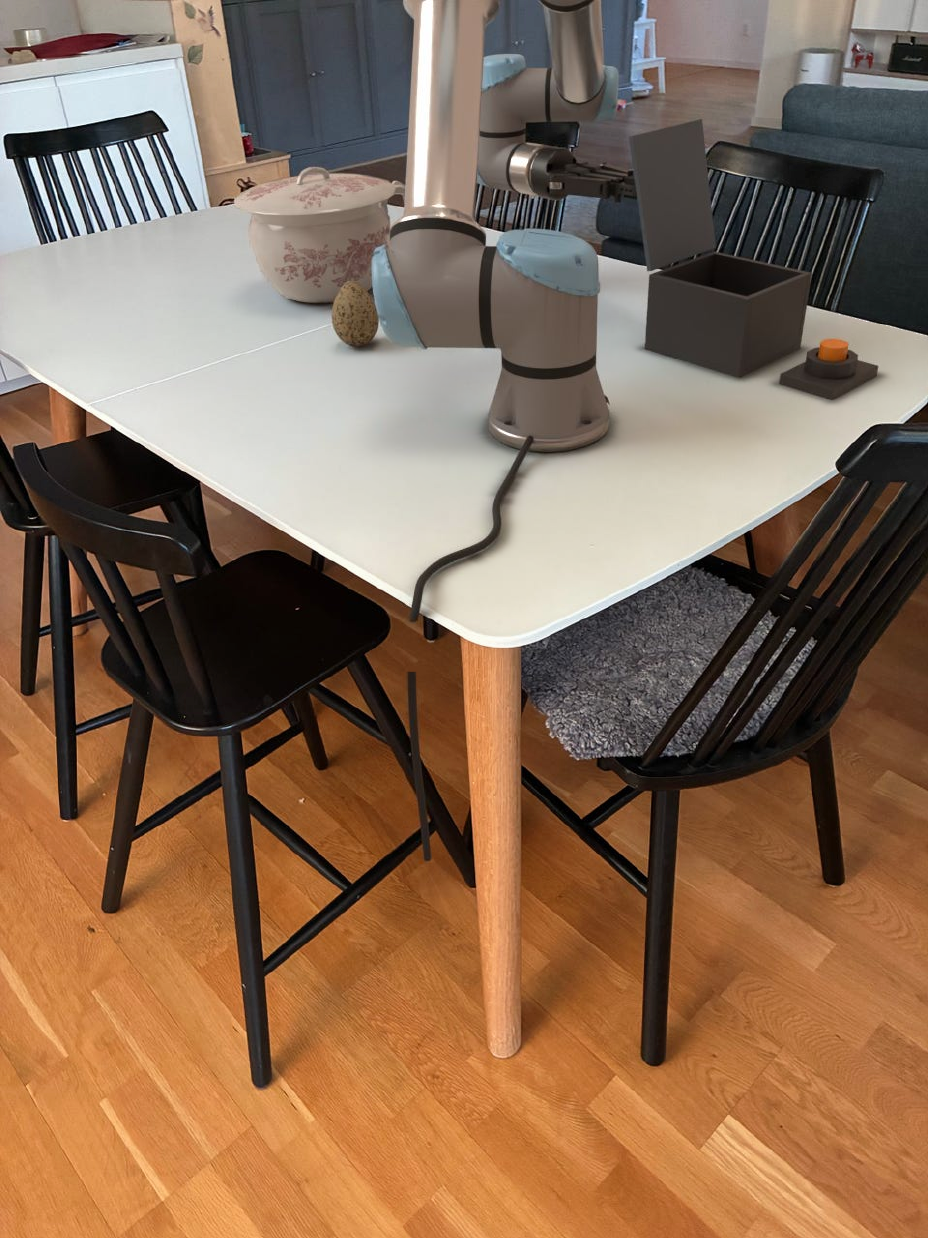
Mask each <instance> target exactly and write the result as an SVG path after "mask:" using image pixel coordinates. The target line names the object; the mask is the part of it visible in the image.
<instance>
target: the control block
mask: <svg viewBox="0 0 928 1238" xmlns="http://www.w3.org/2000/svg"><path fill="white" fill-rule="evenodd" d="M818 352H819V347H817V346H816V347H814V348H811V349H810V350H807V351H806V357H805V361H804V362H802V363H800V364H798V365H795V366H794V367H792V368H789V369H788V370H787V369H786V370H785V371H783V372H781V373H780V375H779V382H778V384H779V385H781V386H783V387H787V388H791V389H793V390H797V391H800V392H804V393H807V394H810V395H814V396H816V397H820V398H823V399H826V400H830V401H833V400H835V399H837V398H838V397H840V396H842V395H844V394H845V393H847V392H849V391H851V390H853V389H856V388H857V387H858V386H861V385H863V384H865V383H866V382H868V381H870V380H871V379H873V378H875V377H877V375H878V371H879V365H877V364H874V363H870V362H867V361H862V360H859V355H858V354H857V353H856V352H855V351H853V350H851V349H848V351H847V356H846V360H844V361H826V360H822V359H819V358H818Z"/></svg>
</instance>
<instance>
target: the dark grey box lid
mask: <svg viewBox="0 0 928 1238" xmlns="http://www.w3.org/2000/svg"><path fill="white" fill-rule="evenodd" d="M703 124H704V123H703V119H702V118H699V119H695V120H691V121H687V122H683V123H679V124H678V123H677V124H675V125H672V126H665V127H662V128H659V129H654V130H650V131H646V132H643V133H639V134H634V135H630V136H628V141H629V142H628V143H629V149H630V156H631V163H632V170H633V171H634V178H635V186H636V193H637V206H638V207H637V208H638V213H639V214H638V215H639V222H640V229H641V235H642V243H643V244H642V245H643V250H644V257H645V265H646V272H653V271H655V270H658V269H660V268H661V269H662V268H664V267H666V266H669V265H672V264H675V263H678V262H681V261H684V260H686V259H689V258H692V257H695V256H698V255H700V254H703V253H706V252H709V251H711V250H715V249H716V248H717V245H716V236H715V227H714V226H715V225H714V217H713V216H714V215H713V207H712V200H711V199H712V197H711V190H710V180H709V172H708V162H707V154H706V153H707V152H706V143H705V135H704V134H705V133H704V126H703Z"/></svg>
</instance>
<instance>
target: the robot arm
mask: <svg viewBox="0 0 928 1238" xmlns="http://www.w3.org/2000/svg"><path fill="white" fill-rule="evenodd" d="M537 1H538V2H539V3H540V4H541V5H542V9H543V14H544V21H545V26H546V27H545V28H546V34H547V41H548V46H549V47H548V48H549V52H550V59H551V65H552V67H527V65H526V59H525V57H524V55H522V54H519V53H501V54H500V53H499V54H492V55H491V54H490V55H487V56H485V45H486V28H487V26H488V25H490V24H491V23H492V22H494V20H495V19H496V18H497V16H498V14H499V12H500V4H501V3H500V2H501V0H402V5H403V8H404V10H405V12H406V13H407V14H408V16H410V18H411V19H412V20H413V38H412V56H411V57H412V58H411V76H410V77H411V78H410V93H409V94H410V95H409V112H408V116H409V117H408V133H407V136H408V137H407V150H406V153H407V154H406V167H405V184H404V185H405V203H404V202H403V205H404V206H403V214H402V216H401V217H400V218H398V219H397V220H396V221H394V222H393V223H392V224H391V229H390V242H389V246H387V245H382V246H381V247H377V248H376V249H375V251H374V257H373V258H372V285H373V287H372V293H373V301H374V303H375V305H376V310H377V314H378V318H379V325H380V327H381V329H382V331H383V334H384V336H385V337H386V338H387V339H388V340H389V342H391V343H392V344H394V345H395V346H399V347H411V348H420V349H422V350H428V349H429V348H435V349H436V348H440V349H443V348H444V349H451V348H452V349H497V350H500V353H501V370H500V373H499V376H498V381H497V384H496V387H495V390H494V394H493V397H492V401H491V404H490V407H489V411H488V430H489V432H490V434H491V435H492V437H493V438H495V439H496V440H497V441H499V442H500V443H502V444H505V445H506V446H509V447H512V448H514V449H518V450H519V452H518V454H517V455H516V458H515V459H514V462H513V463H512V465H511V467H510V469H509V471H508V473H507V474H506V476H505V478H504V479H503V481H502V483H501V484H500V486H499V488H498V490H497V492H496V494H495V496H494V499H493V502H492V507H491V508H492V509H491V512H492V513H491V514H492V521H493V526H492V529H491V531H490V532H489V534H488V535H487V536H486V537H485V538H484V539H482V540H481V541H479V542H477V543H474V544H472V545H470V546H467V547H465V548H462V549H459V550H457V551H454V552H450V553H448V554H447V555H444V556H442V557H440V558H438V559H437V560H436V561H434V562H432V564H430V565H429V566H428V567H427V568H426V569H425V570H424V571H423V572H421V574H420V575H419V577H418V578H417V580H416V583H415V587H414V590H413V596H412V602H411V607H410V612H409V618H408V620H409V622H411V623H416V622H417V621H419V615H420V610H421V606H422V600H423V594H424V589H425V587H426V584H427V582H428V581H429V579H431V577H433V575H434V574H435V573H437V571H438V570H440V569H442V568H443V567H445V566H447V565H450V564H451V563H454V562H456V561H459V560H461V559H464V558H466V557H470V556H472V555H475V554H477V553H479V552H481V551H483V550H485V549H486V548H488V547H489V546H490V545H492V544H493V543H494V542H495V541H496V539H497V538H498V537H499V536H500V533H501V530H502V517H501V505H502V502H503V500H504V497H505V495H506V493H507V491H508V489H509V487H510V486H511V484H512V483H513V481H514V479H515V477H516V475H517V473H518V472H519V469H520V468H521V466H522V464H523V461H524V459H525V458H526V455H527V454H528V452H529V451H531V452H547V453H549V452H563V451H569V450H574V449H575V450H576V449H580V448H582V447H586V446H589V445H590V444H593V443H595V442H598V440H600V439H601V438H603V437H604V436H605V435H606V433H607V432H608V430H609V426H610V425H609V424H610V409H609V406H610V405H611V404H610V400H609V397H608V396H607V395H606V394H605V393H604V389H603V386H602V383H601V379H600V375H599V373H598V369H597V351H598V349H597V345H598V307H599V306H598V303H599V301H598V300H599V299H598V298H599V294H600V292H601V283H600V279H599V275H600V274H599V273H600V272H599V257H598V254H597V251H596V249H595V248H594V247H593V246H592V245H591V244H590V243H589V242H587V240H584V239H583V238H581V237H579V236H576V235H574V234H570V233H567V232H563V231H558V230H553V229H545V228H524V229H511V230H508V231H505V232H503V233H501V235H500V236H499V237H498V241H497V242H496V245H493V246H492V245H487V233H486V232H485V231H486V230H484V229H483V228H482V227H481V225H480V224H479V223H478V222H477V221H476V220H475V219H476V201H477V186H478V184H479V185H482V186H485V187H488V188H490V189H493V190H501V191H507V192H514V193H518V194H523V195H529V196H528V197H529V199H531V200H533V199H535V198H536V197H539V198H541V199H542V198H543V199H547V200H552V201H562V200H564V199H565V198H568V196H575V197H583V198H584V197H585V198H596V199H602V200H609V199H611V197H613V198H614V203H622V198H626V199H631V200H637V193H636V186H635V178H634V171H633V169H627V168H623V167H621V166H616V165H612V164H611V163H610V162H607V161H603V162H601V163H600V164H599V165H596V164H590V163H589V162H587V161H584V160H583V161H582V160H579V161H577V159H576V157H575V156H576V155H574V153H573V152H572V151H570V149H568V148H565V147H558V146H552V145H551V146H550V145H547V144H540V143H534V142H527V141H526V133H527V125H526V124H527V123H554V122H555V123H561V122H562V123H563V122H564V123H565V122H566V123H568V122H569V123H570V122H571V123H572V122H590V123H595V122H597V121H609V120H612V119H614V118H615V117H616V116H617V111H618V105H619V104H618V102H619V78H620V77H619V74H620V73H619V70H618V68H617V67H615V66H613V65H605V57H604V38H603V37H604V35H603V16H602V15H603V13H602V0H537ZM622 196H623V197H622ZM637 201H638V200H637ZM608 405H609V406H608ZM407 709H408V727H409V741H410V750H411V761H412V770H413V778H414V786H415V787H414V788H415V793H416V801H417V810H418V817H419V825H420V826H419V827H420V833H421V844H422V853H423V861H424V862H430V861H431V860H432V850H431V839H430V837H431V836H430V828H429V819H428V810H427V803H426V794H425V787H424V778H423V777H424V776H423V770H422V760H421V752H420V751H421V750H420V737H419V722H418V721H419V720H418V699H417V671H407Z"/></svg>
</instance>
